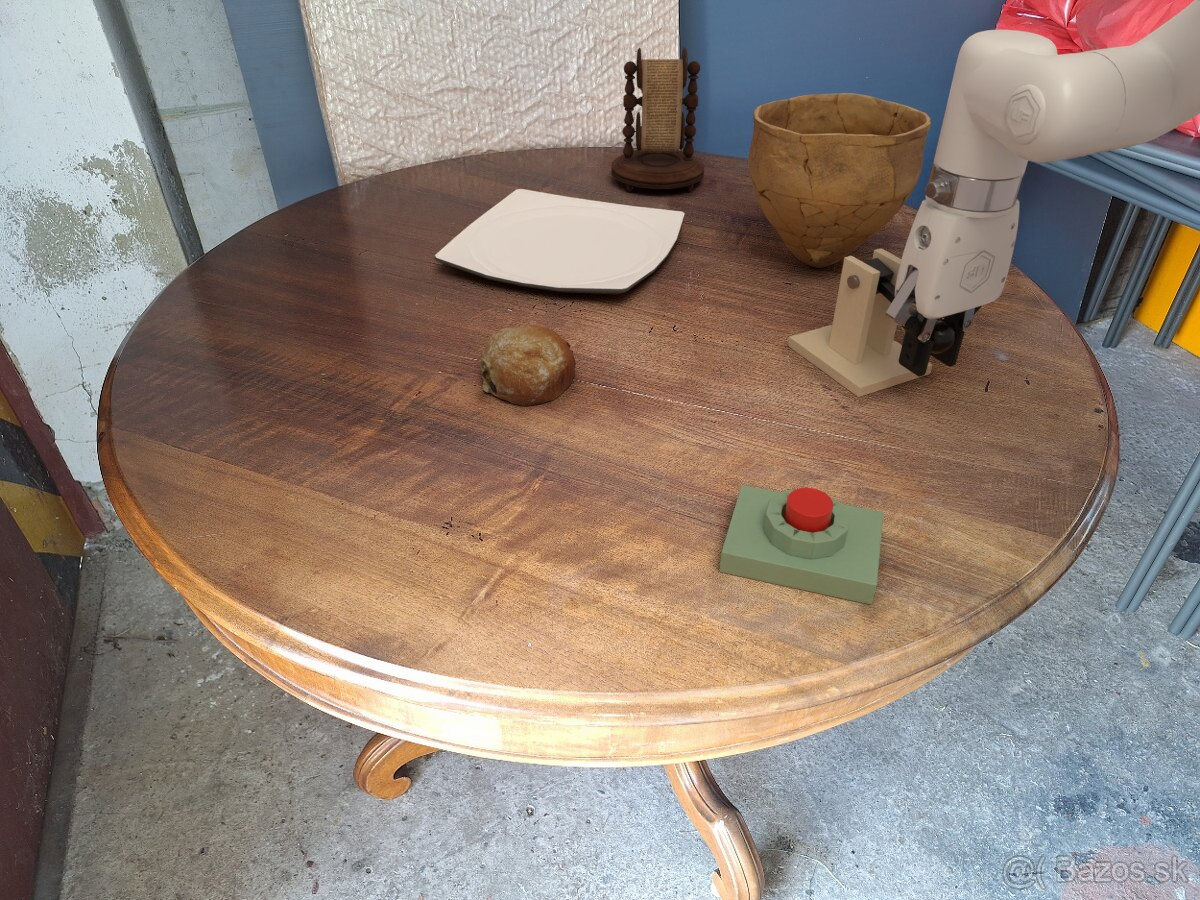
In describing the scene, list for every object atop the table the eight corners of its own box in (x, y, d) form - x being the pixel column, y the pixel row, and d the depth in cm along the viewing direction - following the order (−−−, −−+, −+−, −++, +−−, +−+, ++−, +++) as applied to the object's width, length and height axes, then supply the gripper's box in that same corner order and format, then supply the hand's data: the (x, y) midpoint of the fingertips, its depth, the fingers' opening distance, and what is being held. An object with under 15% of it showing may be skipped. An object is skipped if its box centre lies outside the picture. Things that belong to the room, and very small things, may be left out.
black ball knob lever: (954, 355, 88) (967, 331, 86) (929, 363, 87) (942, 338, 85) (872, 277, 95) (882, 253, 93) (848, 284, 94) (858, 259, 92)
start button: (832, 508, 73) (835, 492, 72) (827, 537, 70) (831, 520, 69) (787, 500, 74) (790, 483, 73) (781, 527, 71) (784, 511, 70)
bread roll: (479, 400, 98) (447, 354, 92) (542, 337, 101) (515, 288, 95) (536, 439, 93) (506, 392, 86) (602, 371, 95) (577, 321, 89)
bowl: (725, 288, 113) (740, 127, 101) (750, 227, 128) (766, 81, 116) (895, 311, 108) (932, 144, 96) (900, 245, 124) (932, 95, 112)
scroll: (613, 198, 137) (615, 60, 125) (609, 166, 149) (610, 36, 137) (709, 198, 138) (720, 60, 126) (697, 165, 149) (706, 36, 137)
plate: (632, 316, 107) (632, 296, 105) (420, 278, 115) (418, 259, 113) (695, 227, 128) (697, 210, 127) (514, 201, 136) (513, 184, 135)
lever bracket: (930, 374, 96) (956, 273, 89) (858, 397, 93) (879, 294, 86) (856, 326, 105) (875, 230, 98) (787, 345, 101) (801, 248, 94)
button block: (878, 531, 76) (888, 494, 74) (871, 605, 69) (881, 567, 67) (739, 503, 79) (743, 467, 77) (718, 572, 72) (723, 535, 70)
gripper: (934, 217, 73) (889, 404, 84) (1073, 184, 79) (1014, 362, 90) (872, 187, 78) (837, 367, 89) (1006, 159, 84) (958, 330, 95)
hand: (926, 363), depth 90 cm, fingers closed on black ball knob lever, 3 cm apart
